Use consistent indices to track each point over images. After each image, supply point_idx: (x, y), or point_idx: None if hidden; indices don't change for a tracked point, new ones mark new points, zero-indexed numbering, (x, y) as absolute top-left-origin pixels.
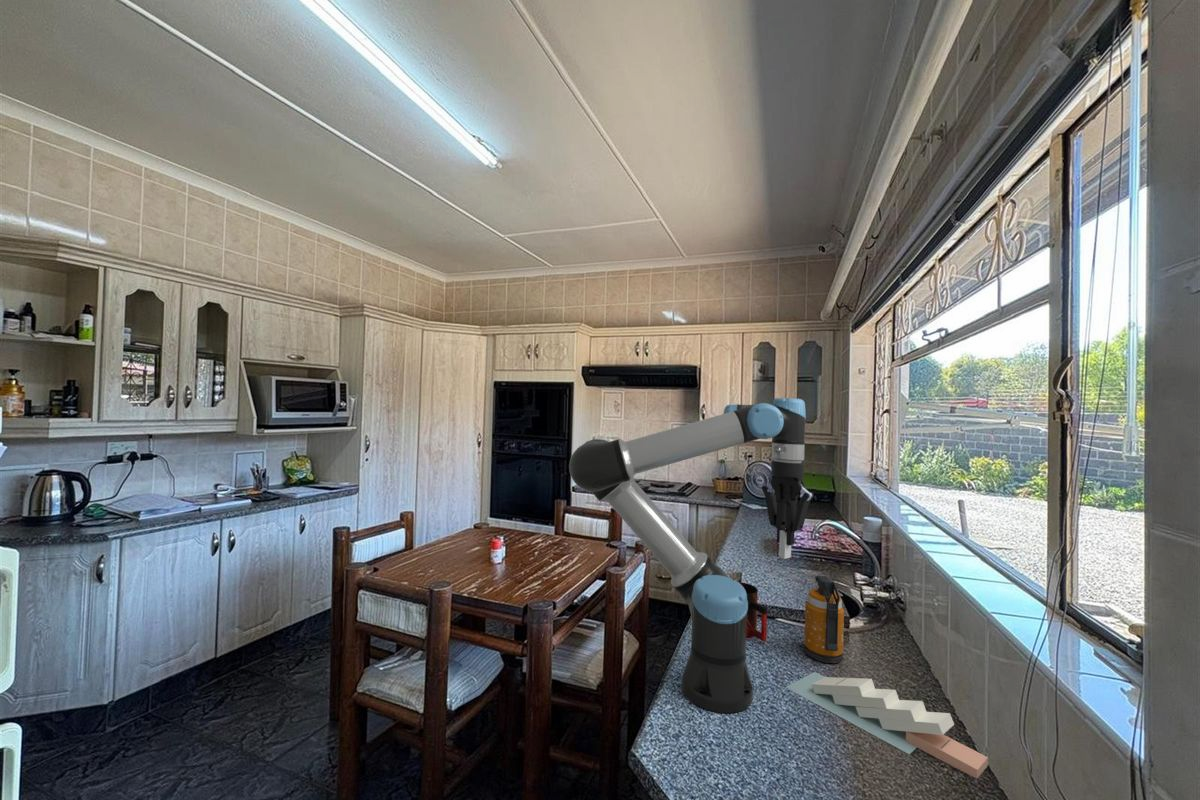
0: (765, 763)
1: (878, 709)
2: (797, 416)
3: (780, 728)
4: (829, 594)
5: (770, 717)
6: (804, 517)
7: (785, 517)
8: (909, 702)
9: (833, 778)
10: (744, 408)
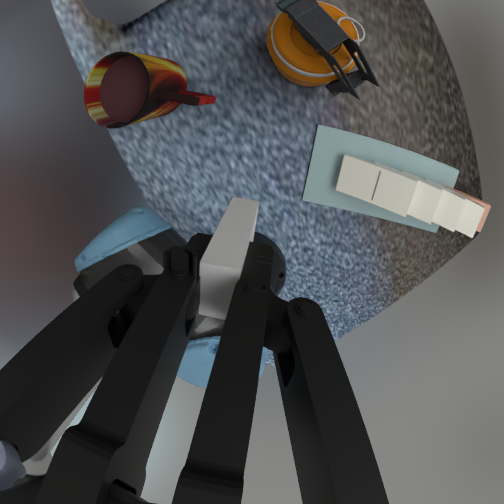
0: (330, 320)
1: None
2: None
3: (326, 276)
4: (357, 94)
5: (311, 267)
6: (343, 389)
7: (175, 334)
8: (453, 202)
9: (379, 302)
10: None
